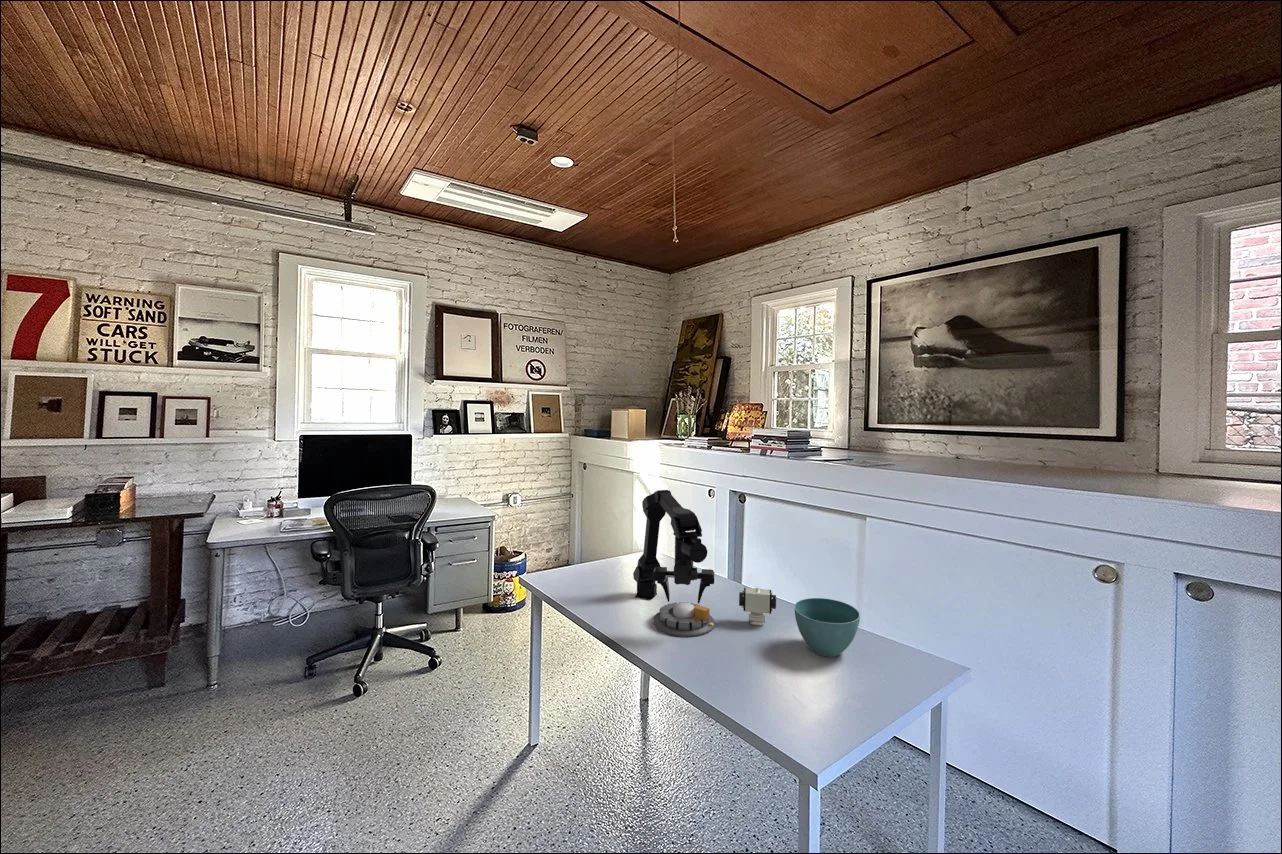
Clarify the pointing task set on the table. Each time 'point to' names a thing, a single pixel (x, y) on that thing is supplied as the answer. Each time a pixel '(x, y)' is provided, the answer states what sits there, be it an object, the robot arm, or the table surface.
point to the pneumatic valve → (757, 604)
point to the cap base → (682, 632)
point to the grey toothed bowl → (684, 624)
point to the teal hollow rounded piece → (826, 624)
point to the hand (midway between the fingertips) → (683, 602)
